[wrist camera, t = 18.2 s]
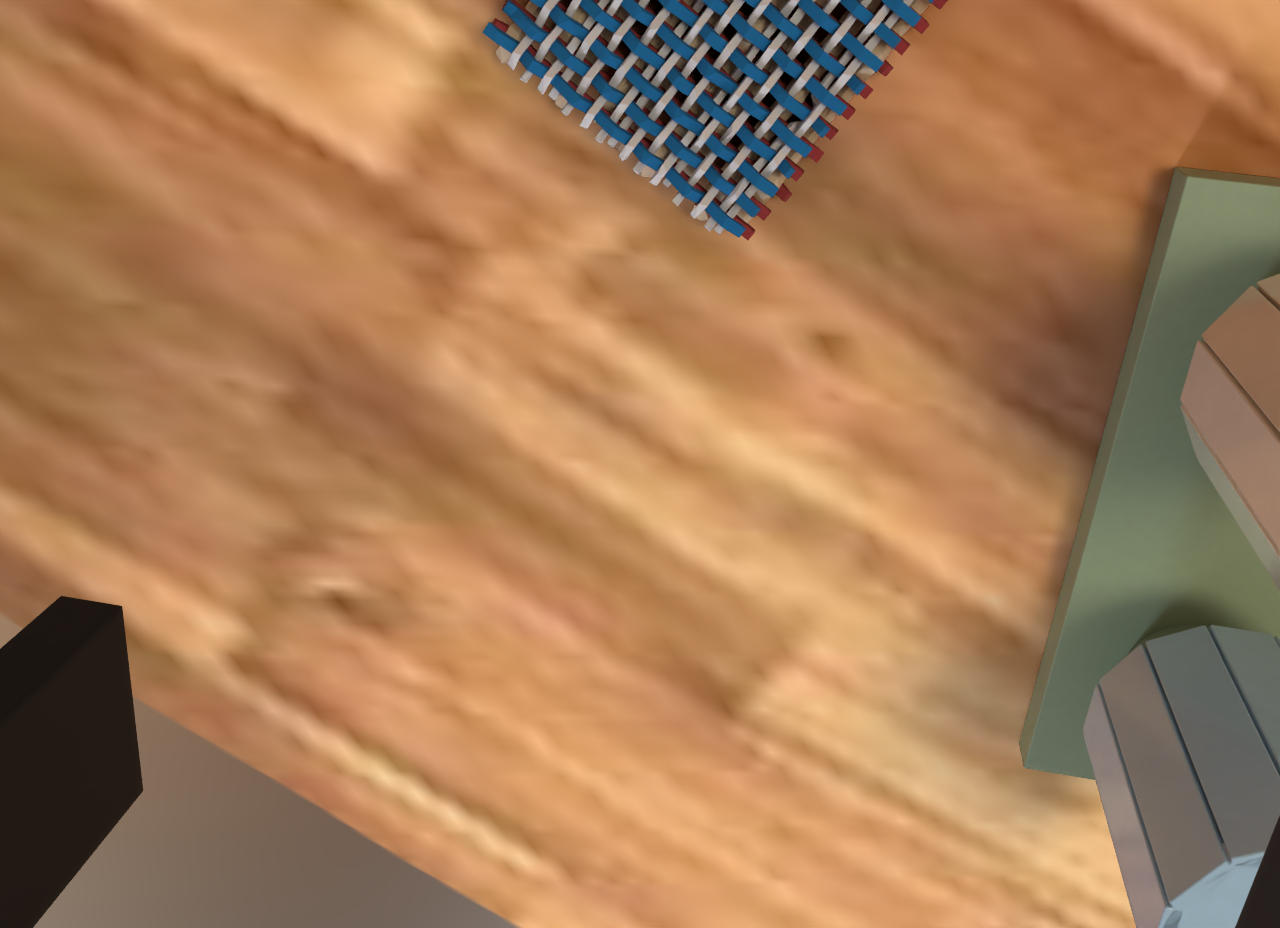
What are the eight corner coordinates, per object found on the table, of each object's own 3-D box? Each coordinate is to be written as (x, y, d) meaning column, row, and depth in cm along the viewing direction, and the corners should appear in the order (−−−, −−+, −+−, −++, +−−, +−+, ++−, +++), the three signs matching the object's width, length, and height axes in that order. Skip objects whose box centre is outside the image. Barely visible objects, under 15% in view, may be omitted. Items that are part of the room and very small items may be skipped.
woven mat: (742, 249, 40) (737, 266, 39) (485, 41, 39) (467, 48, 37) (965, -18, 36) (971, -14, 34) (685, -264, 35) (676, -274, 33)
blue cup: (1043, 858, 43) (1093, 1107, 34) (1117, 609, 39) (1196, 820, 30) (1265, 897, 43) (1375, 1162, 34) (1367, 647, 38) (1525, 876, 29)
